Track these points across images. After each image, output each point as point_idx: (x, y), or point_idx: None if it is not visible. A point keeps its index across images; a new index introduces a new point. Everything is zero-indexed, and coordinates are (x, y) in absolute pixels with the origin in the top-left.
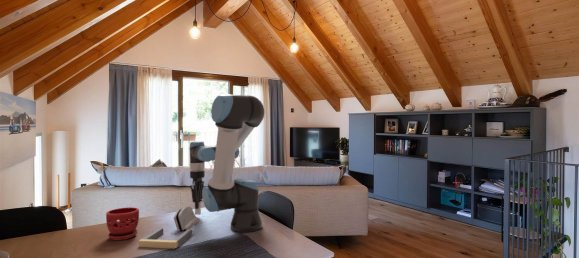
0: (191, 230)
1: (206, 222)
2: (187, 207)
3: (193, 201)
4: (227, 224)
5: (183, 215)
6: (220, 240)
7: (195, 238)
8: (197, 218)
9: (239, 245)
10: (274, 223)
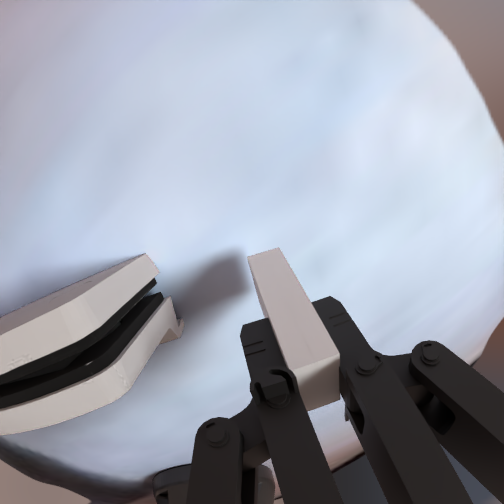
0: None
1: (180, 380)
2: (30, 427)
3: (202, 443)
4: None
5: None
6: (67, 472)
7: None
8: (163, 342)
9: (86, 494)
10: None
